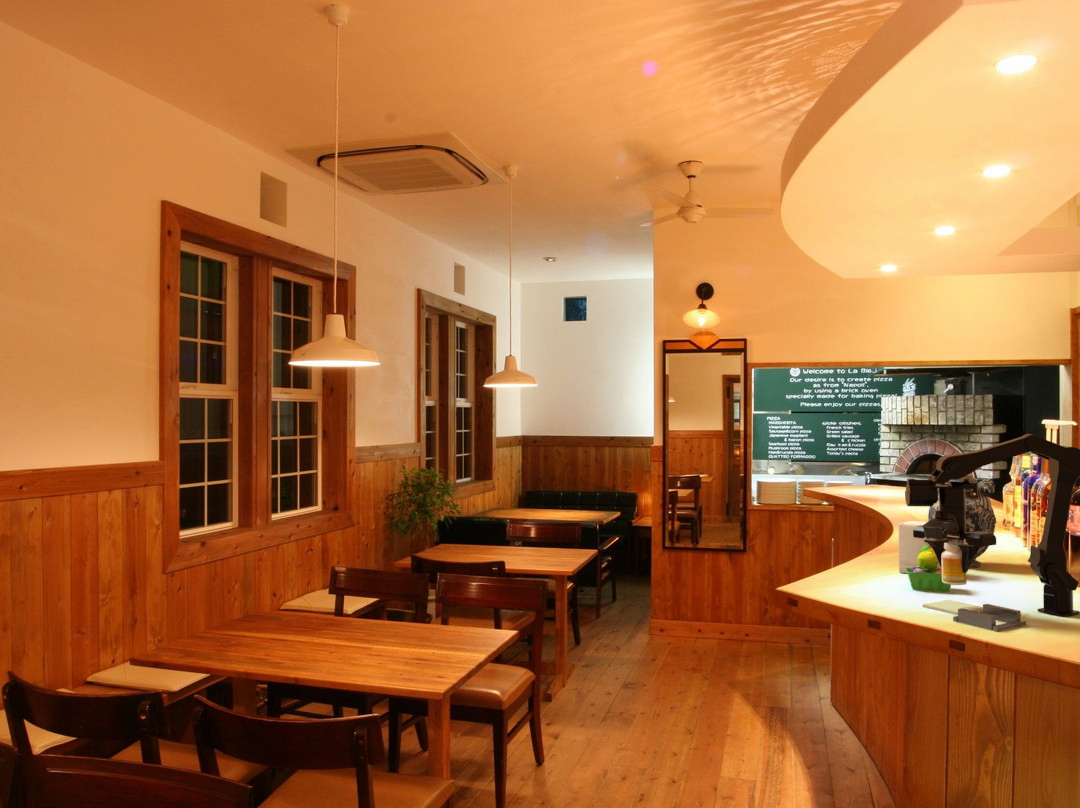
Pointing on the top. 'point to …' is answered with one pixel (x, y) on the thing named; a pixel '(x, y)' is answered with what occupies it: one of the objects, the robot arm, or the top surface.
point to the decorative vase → (974, 511)
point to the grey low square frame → (991, 618)
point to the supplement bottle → (952, 565)
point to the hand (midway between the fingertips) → (954, 570)
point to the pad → (951, 606)
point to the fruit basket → (927, 573)
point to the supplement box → (910, 545)
